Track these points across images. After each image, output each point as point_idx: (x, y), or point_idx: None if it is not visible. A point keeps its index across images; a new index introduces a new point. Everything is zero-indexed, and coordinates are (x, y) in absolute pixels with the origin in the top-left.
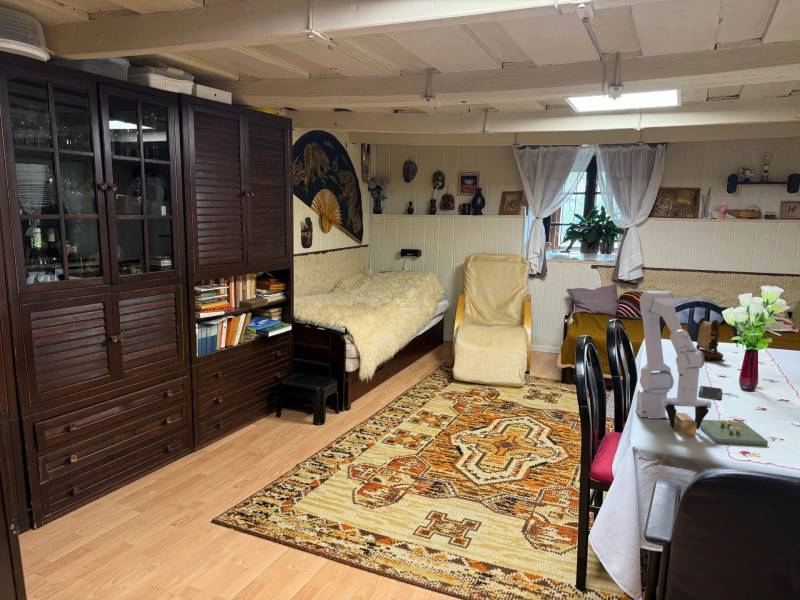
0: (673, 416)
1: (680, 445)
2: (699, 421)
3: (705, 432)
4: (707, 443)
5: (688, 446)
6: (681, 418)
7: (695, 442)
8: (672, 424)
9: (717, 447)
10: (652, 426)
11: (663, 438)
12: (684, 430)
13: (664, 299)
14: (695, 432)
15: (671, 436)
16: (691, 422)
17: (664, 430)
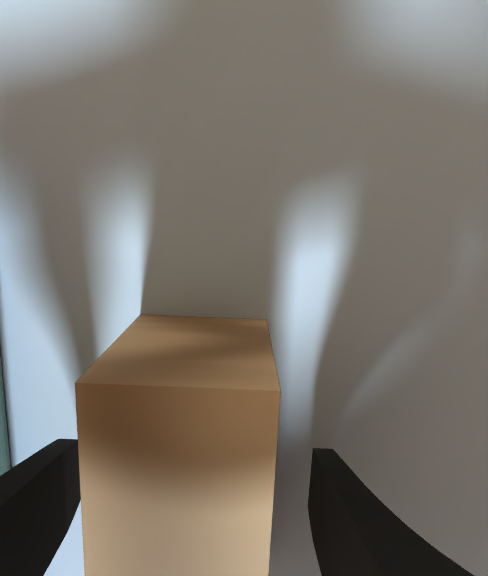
0: (390, 545)
1: (390, 59)
2: (5, 491)
3: (2, 432)
4: (73, 157)
5: (313, 37)
6: (246, 537)
7: (191, 171)
8: (347, 466)
9: (2, 46)
10: (443, 537)
11: (482, 247)
12: (250, 342)
13: None
14: (129, 331)
15: (373, 311)
16: (157, 385)
17: (374, 456)
